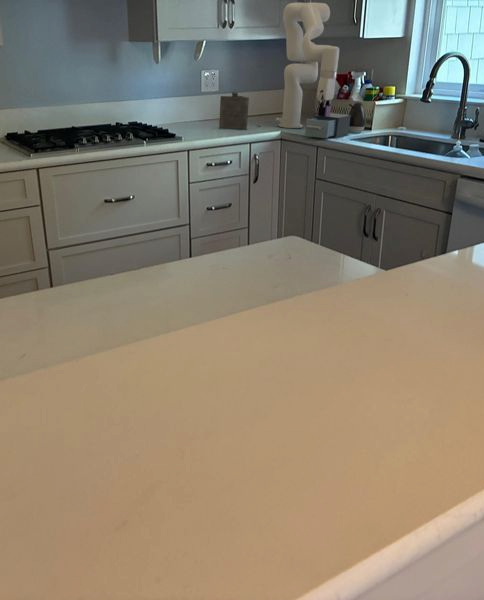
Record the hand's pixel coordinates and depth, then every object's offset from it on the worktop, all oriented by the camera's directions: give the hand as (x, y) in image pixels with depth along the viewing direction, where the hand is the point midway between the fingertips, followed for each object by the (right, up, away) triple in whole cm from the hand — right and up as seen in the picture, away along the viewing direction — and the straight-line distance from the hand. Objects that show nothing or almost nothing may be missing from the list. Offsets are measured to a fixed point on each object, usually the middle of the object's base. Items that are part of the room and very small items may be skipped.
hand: (323, 114), depth 294 cm
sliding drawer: (-1, -10, +2) cm, 10 cm away
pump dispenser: (+20, -2, +23) cm, 31 cm away
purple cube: (0, 0, 0) cm, 0 cm away
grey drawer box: (+6, -6, +12) cm, 15 cm away
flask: (-42, 0, +23) cm, 48 cm away
